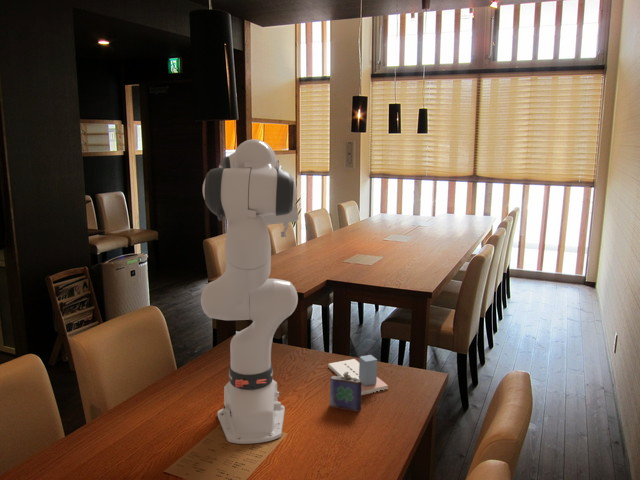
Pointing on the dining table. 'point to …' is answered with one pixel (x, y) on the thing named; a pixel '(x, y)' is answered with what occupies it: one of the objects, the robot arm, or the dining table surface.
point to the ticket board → (356, 375)
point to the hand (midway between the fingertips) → (269, 238)
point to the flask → (345, 392)
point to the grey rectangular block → (368, 370)
